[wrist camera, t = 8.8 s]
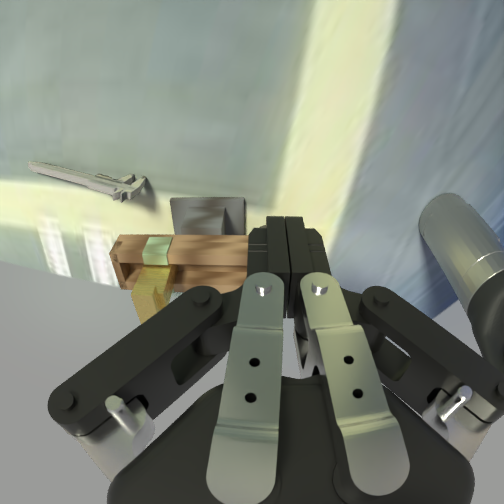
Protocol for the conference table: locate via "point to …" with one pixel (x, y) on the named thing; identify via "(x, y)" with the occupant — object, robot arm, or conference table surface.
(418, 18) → the conference table surface
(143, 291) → the block
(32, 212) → the conference table surface
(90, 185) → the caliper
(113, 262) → the beam
